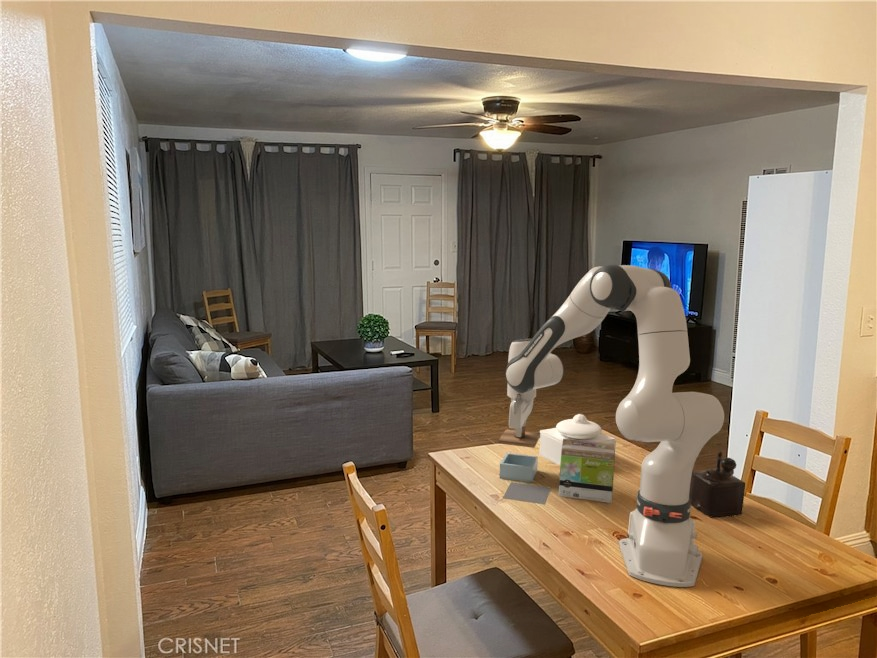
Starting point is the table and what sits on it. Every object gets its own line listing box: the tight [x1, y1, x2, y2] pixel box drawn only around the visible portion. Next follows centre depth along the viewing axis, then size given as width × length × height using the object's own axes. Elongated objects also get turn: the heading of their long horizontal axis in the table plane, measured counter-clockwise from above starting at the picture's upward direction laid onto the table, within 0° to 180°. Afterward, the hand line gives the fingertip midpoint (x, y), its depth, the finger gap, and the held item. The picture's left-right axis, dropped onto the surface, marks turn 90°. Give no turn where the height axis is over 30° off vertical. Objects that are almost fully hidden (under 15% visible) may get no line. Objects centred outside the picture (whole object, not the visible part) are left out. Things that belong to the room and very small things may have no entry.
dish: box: [499, 452, 539, 483], centre depth 196 cm, size 10×10×5 cm
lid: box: [497, 426, 540, 449], centre depth 194 cm, size 11×11×4 cm
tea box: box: [558, 439, 616, 504], centre depth 182 cm, size 15×10×15 cm, turn 76°
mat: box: [502, 481, 552, 505], centre depth 182 cm, size 12×12×1 cm
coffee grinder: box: [689, 451, 746, 518], centre depth 171 cm, size 16×11×18 cm
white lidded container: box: [538, 413, 617, 466], centre depth 209 cm, size 18×18×16 cm
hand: (520, 434), depth 194 cm, fingers closed on lid, 3 cm apart
